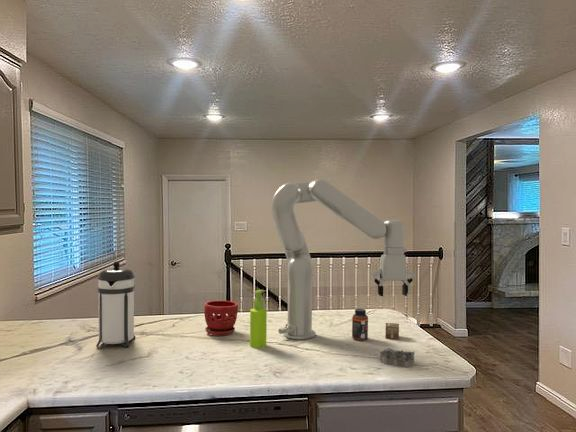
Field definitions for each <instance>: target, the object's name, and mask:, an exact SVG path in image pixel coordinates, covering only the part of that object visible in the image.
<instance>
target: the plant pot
mask: <svg viewBox="0 0 576 432" xmlns="http://www.w3.org/2000/svg"><path fill="white" fill-rule="evenodd" d="M203 311H204V320H205V324H206V327H205V332H206V333H207V334H209V335H211V336H212V337H213V336H216V337H221V336H222V337H223V336H229V335H231V334H233V333H234V332H235V330H236V327H235V324H236V323H237V320H238V319H237V318H238V312H239V303H238V302H235V301H230V300H210V301H207V302H205V303H204V309H203Z"/></svg>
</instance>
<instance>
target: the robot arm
mask: <svg viewBox="0 0 576 432" xmlns="http://www.w3.org/2000/svg"><path fill="white" fill-rule="evenodd" d="M272 197H273V198H272V200H271V214H272V218H273V221H274V225H275V228H276V232H277V235H278V238H279V243H280V245H281V247H282V249H283V250H284V254H285V257H286V260H287V263H288V264H287V323H286V324H285V327H282V328H278V334H280V335H282V334H283V336H284V337H285V338H288V339H293V340H310V339H312V338H315V337H316V331H315V330H314V329H313V328H312V327H313V325H312V322H313V321H312V317H313V314H312V313H313V274H314V271H313V269H314V266H313V265H314V264H313V261H312V258H311V254H310V252H309V247H308V245H307V242H306V239H305V236H304V234H303V233H304V232H302V231H301V230H300V227H299V224H298V223H299V222H298V221H297V220H298V219H297V217H296V214H295V210H294V209H295V204H304V203H311V202H318V203H319V204H321V205H322V206H323V207H325V208H326V209H328V210H329V211H330V212H331V213H334V214H335V215H336V216H337V217H338V218H340V219H341V220H344V221H346V222H348V223H349V224H351V225H352V226H354V227H355V228H357V229H358V230H360V232H362V233H364V234H365V236H367V237H368V238H369V239H373V240H381V239H382V238H383V254H381V256H380V261H379V269H378V270H376V271H375V272H373V273H371V274H370V275H371V278H372V280H373V281H374V283H375V284H376V285H377V294H378V296H380V297H384V286H383V284H384V283H385V282H402V283H403V284H402V286H401V288H402V290H401V291H402V292H401V293H402V294H401V295H403V296H404V297H407V296H408V294H409V286H410V285H411V283H412V282H413V280H414V278H415V277H416V274H415V273H414V272H411V271H410V270H408V265H407V259H406V255H405V253H407V252H408V249H407V248H405V242H404V241H405V222H404V221H403V220H401V219H386V220H385V219H380V218H379V217H377V216H376V215H375V214H373V213H372V212H371V211H369V210H367V209H366V208H364V207H363V206H362V205H360V204H359V203H358V202H357V201H355V200H354V199H353V198H351V197H350V196H349V195H347V194H346V193H344V192H343V191H341V189H338V187H336V186H334V185H333V184H331V182H329V181H327V180H325V179H323V178H317V179H314V180H311V181H301V182H293V181H290V182H285V183H284V184H283V185H281V186H279V188H278V189H277V190H276V192H275V193H274V195H273V196H272ZM377 276H378V278H379V280H378V278H377Z"/></svg>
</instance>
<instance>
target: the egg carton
mask: <svg viewBox="0 0 576 432" xmlns="http://www.w3.org/2000/svg"><path fill="white" fill-rule="evenodd" d="M379 353H380V363H382V364H383V365H389V364H390V365H393V366H394V367H395V366H403V367H404V368H412V367H413V365H414V363H415V351H407V350H405V351H404V350H403V349H402V350H395V349H392V348H386V349H384V350H382V351H380V352H379Z"/></svg>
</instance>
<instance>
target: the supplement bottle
mask: <svg viewBox="0 0 576 432" xmlns="http://www.w3.org/2000/svg"><path fill="white" fill-rule="evenodd" d="M366 313H367V311H366V309H365V308H355V310H354V314H353V315H352V319H351V321H352V322H351V324H352V325H351V330H352V331H351V338H352V339H353V340H355V341H361V342H363V341H366V340H368V339H369V335H368V334H369V316H368V315H367V314H366Z"/></svg>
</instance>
